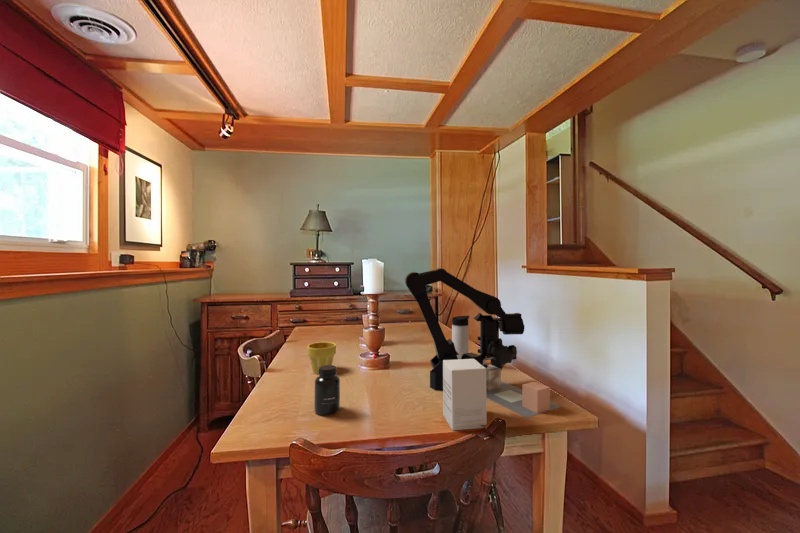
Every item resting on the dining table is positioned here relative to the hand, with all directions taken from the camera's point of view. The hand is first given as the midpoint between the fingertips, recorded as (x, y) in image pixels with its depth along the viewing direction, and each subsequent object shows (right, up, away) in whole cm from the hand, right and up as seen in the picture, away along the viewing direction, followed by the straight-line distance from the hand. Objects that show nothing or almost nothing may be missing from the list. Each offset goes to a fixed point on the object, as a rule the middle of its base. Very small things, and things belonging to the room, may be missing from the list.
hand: (489, 383), depth 109 cm
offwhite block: (0, -1, 0) cm, 1 cm away
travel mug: (-5, -2, +22) cm, 23 cm away
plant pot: (-58, -2, +19) cm, 61 cm away
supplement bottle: (-49, -3, -15) cm, 51 cm away
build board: (+4, -2, -8) cm, 9 cm away
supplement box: (-12, -3, -21) cm, 25 cm away
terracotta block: (+9, -1, -16) cm, 18 cm away
